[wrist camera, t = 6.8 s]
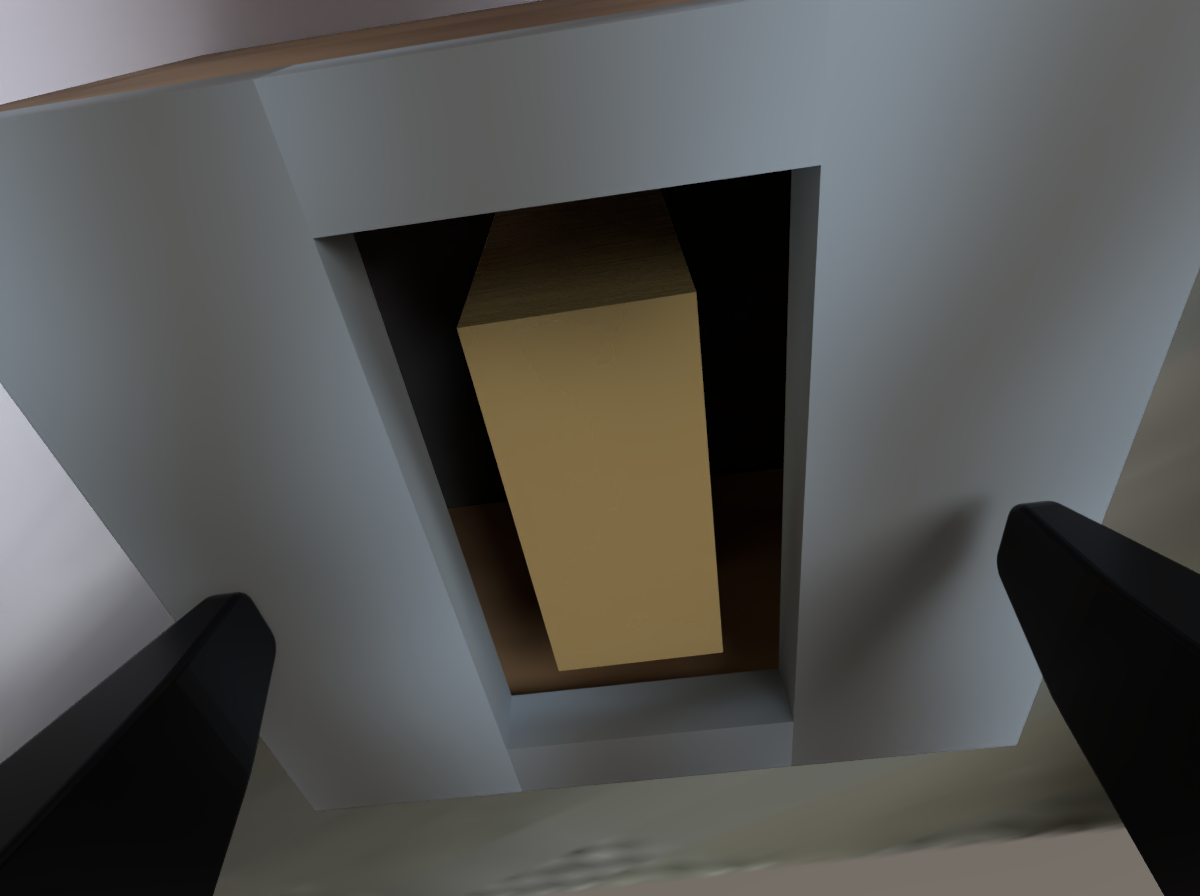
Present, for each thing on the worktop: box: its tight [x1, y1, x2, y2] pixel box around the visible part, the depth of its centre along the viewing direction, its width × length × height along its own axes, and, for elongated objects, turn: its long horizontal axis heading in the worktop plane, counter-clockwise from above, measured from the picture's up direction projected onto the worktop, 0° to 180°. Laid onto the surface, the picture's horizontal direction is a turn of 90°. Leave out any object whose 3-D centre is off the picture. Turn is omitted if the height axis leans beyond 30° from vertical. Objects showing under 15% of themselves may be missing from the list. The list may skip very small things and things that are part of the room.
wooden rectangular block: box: [457, 188, 723, 671], centre depth 12 cm, size 3×6×6 cm, turn 9°
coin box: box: [0, 0, 1200, 811], centre depth 11 cm, size 12×11×7 cm
